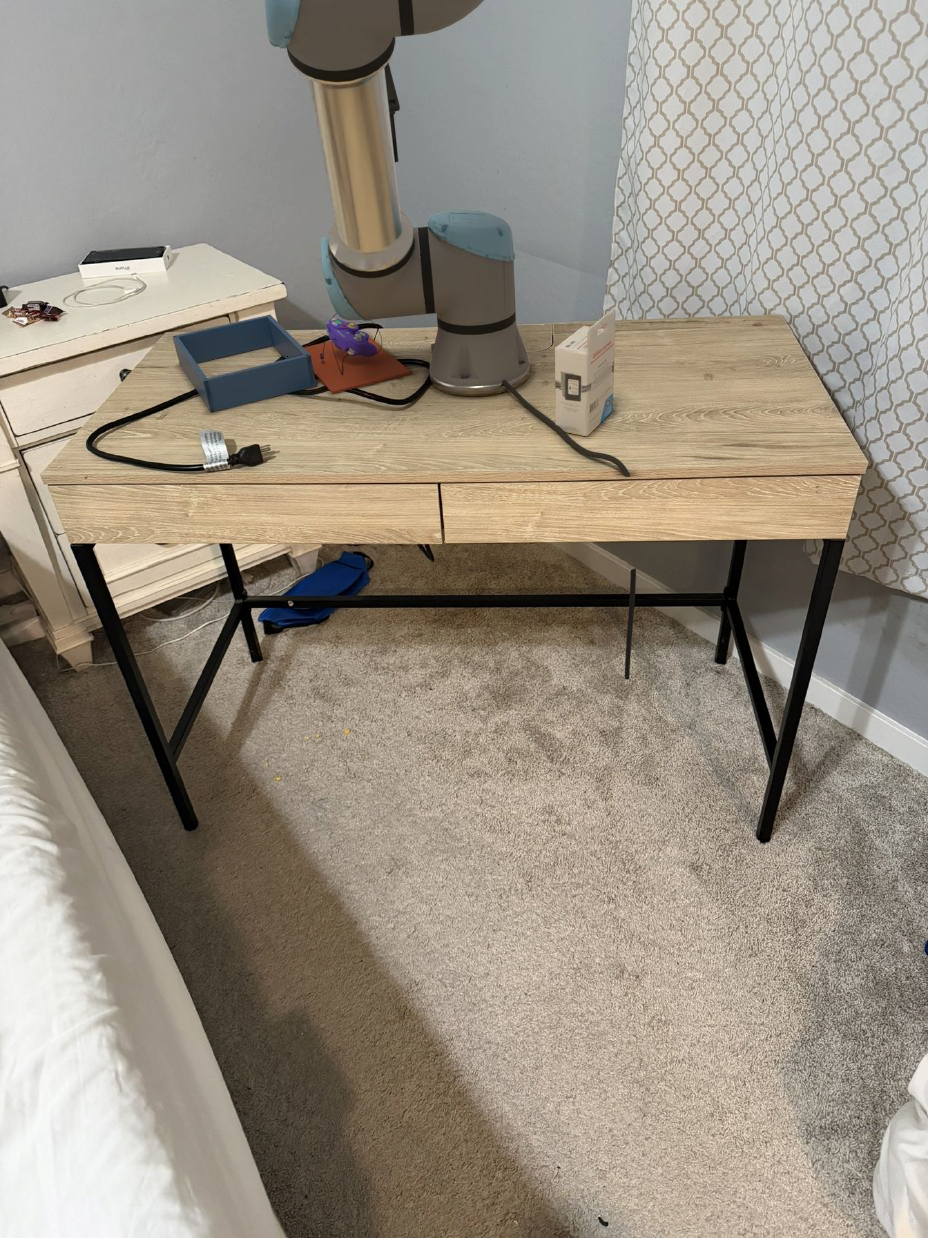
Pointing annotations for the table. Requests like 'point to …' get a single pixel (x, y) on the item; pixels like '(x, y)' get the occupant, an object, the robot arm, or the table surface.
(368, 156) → the robot arm
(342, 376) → the mat
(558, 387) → the ink box
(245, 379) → the box
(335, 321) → the game controller
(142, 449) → the table surface
